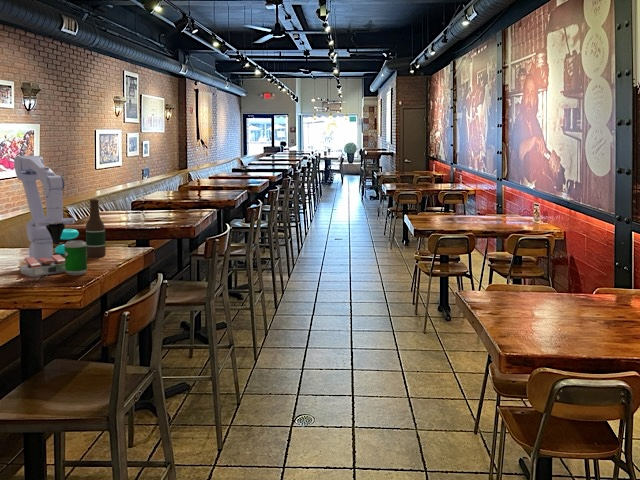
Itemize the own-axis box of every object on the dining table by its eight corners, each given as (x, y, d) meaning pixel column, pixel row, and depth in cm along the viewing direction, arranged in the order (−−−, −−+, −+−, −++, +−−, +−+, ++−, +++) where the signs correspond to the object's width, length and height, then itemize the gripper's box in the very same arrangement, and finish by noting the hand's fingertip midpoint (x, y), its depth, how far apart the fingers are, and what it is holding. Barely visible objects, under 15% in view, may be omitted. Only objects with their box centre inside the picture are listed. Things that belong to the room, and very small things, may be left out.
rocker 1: (24, 259, 239) (24, 257, 239) (33, 258, 241) (33, 256, 241) (31, 267, 236) (32, 265, 235) (40, 266, 238) (40, 264, 238)
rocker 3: (50, 257, 247) (50, 255, 246) (58, 256, 249) (59, 254, 249) (58, 263, 243) (58, 261, 243) (66, 262, 245) (66, 260, 245)
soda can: (90, 272, 244) (89, 240, 243) (81, 276, 237) (80, 243, 235) (71, 271, 245) (70, 239, 243) (61, 275, 238) (60, 242, 236)
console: (20, 273, 240) (20, 263, 240) (59, 267, 251) (59, 258, 251) (32, 277, 234) (31, 266, 234) (72, 271, 245) (71, 261, 245)
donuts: (83, 229, 285) (64, 232, 277) (84, 252, 287) (65, 255, 278) (68, 228, 290) (48, 230, 282) (69, 250, 292) (49, 253, 283)
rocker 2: (37, 260, 243) (37, 258, 243) (46, 259, 245) (46, 257, 245) (45, 263, 239) (45, 261, 239) (54, 262, 241) (53, 260, 241)
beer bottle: (109, 255, 280) (107, 199, 277) (94, 258, 274) (92, 200, 270) (97, 253, 284) (95, 198, 281) (82, 256, 278) (80, 199, 274)
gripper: (40, 210, 236) (42, 247, 238) (78, 207, 247) (79, 243, 249) (31, 208, 241) (33, 245, 243) (68, 206, 251) (70, 241, 253)
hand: (56, 244), depth 246 cm, fingers closed
